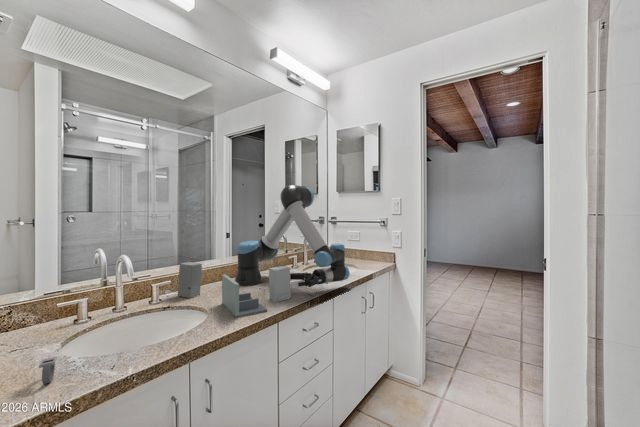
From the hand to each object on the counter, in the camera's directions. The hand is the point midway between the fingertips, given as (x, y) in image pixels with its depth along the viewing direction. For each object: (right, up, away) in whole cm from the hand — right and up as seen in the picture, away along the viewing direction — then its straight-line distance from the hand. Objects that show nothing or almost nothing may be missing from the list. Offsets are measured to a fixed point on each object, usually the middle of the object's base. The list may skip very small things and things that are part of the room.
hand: (284, 281), depth 131 cm
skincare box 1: (-46, -8, +5) cm, 47 cm away
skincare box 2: (-2, -8, 0) cm, 8 cm away
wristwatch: (-48, -8, -64) cm, 80 cm away
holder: (-15, -8, -11) cm, 21 cm away
